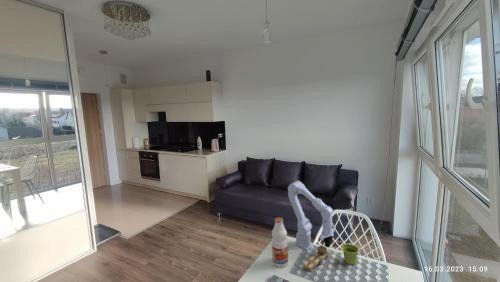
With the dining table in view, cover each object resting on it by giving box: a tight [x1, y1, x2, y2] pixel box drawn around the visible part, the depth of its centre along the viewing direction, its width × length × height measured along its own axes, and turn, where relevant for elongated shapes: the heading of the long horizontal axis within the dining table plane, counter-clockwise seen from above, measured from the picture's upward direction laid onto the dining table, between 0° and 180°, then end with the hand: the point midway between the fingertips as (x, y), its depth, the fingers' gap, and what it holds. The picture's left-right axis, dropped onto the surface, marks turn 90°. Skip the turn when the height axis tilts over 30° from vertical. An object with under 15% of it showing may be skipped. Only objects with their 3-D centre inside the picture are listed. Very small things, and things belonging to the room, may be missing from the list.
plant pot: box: [341, 243, 360, 266], centre depth 138 cm, size 9×9×9 cm
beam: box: [302, 250, 330, 273], centre depth 139 cm, size 20×6×3 cm, turn 132°
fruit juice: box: [271, 217, 289, 269], centre depth 138 cm, size 9×9×28 cm
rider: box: [316, 244, 328, 257], centre depth 143 cm, size 4×4×5 cm
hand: (327, 246), depth 147 cm, fingers closed
